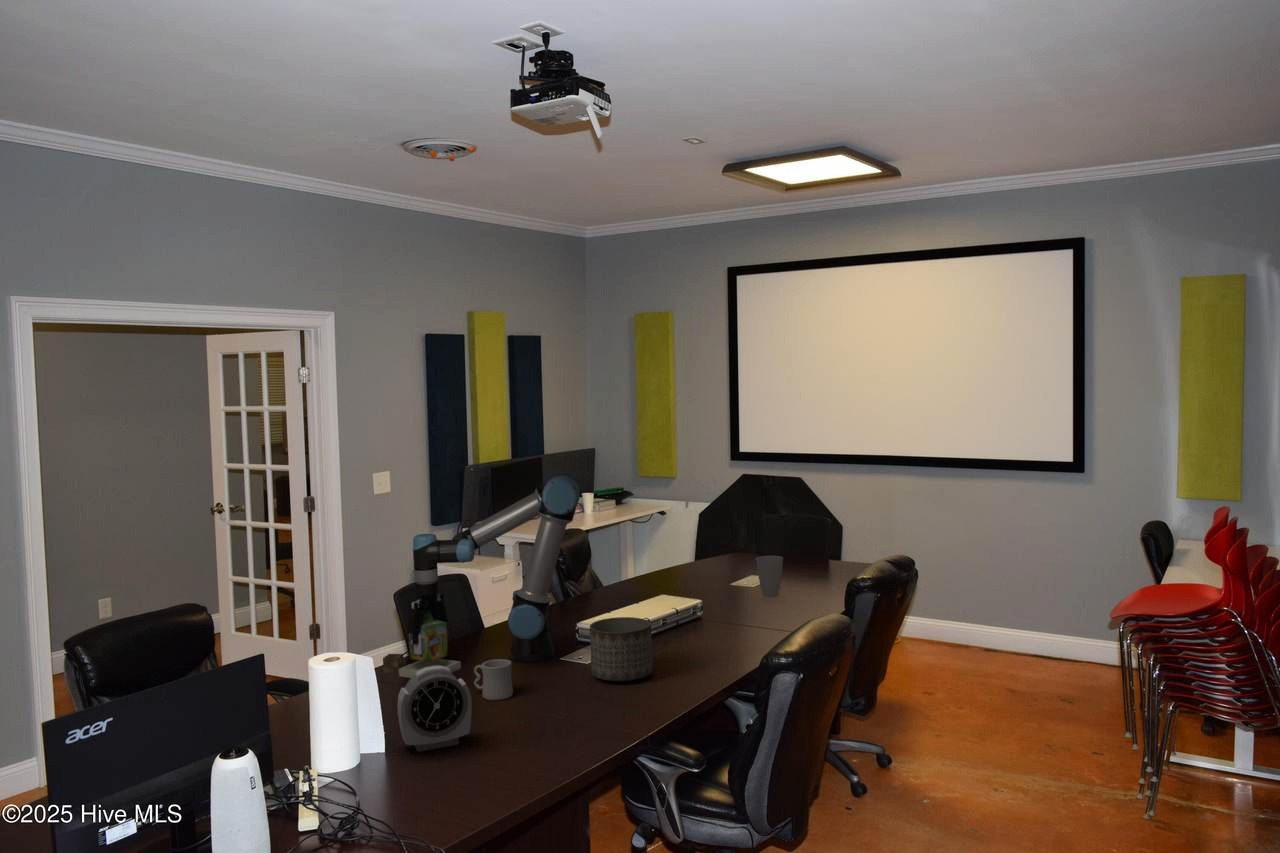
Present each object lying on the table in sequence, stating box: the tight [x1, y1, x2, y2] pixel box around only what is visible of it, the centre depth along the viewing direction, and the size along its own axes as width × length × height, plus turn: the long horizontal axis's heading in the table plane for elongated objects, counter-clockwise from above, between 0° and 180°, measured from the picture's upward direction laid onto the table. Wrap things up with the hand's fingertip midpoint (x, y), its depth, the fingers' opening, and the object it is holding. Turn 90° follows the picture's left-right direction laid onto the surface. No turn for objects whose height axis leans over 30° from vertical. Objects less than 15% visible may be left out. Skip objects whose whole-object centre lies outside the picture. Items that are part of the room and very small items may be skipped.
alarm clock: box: [396, 665, 472, 753], centre depth 238 cm, size 18×8×20 cm, turn 114°
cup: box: [755, 555, 784, 598], centre depth 396 cm, size 12×12×16 cm
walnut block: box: [382, 653, 405, 674], centre depth 305 cm, size 5×5×5 cm
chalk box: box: [408, 610, 449, 662], centre depth 301 cm, size 9×9×15 cm
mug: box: [473, 658, 514, 701], centre depth 275 cm, size 12×9×10 cm
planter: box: [589, 616, 654, 683], centre depth 289 cm, size 19×19×16 cm
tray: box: [398, 658, 462, 679], centre depth 301 cm, size 14×14×2 cm
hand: (428, 649), depth 301 cm, fingers closed on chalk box, 9 cm apart
